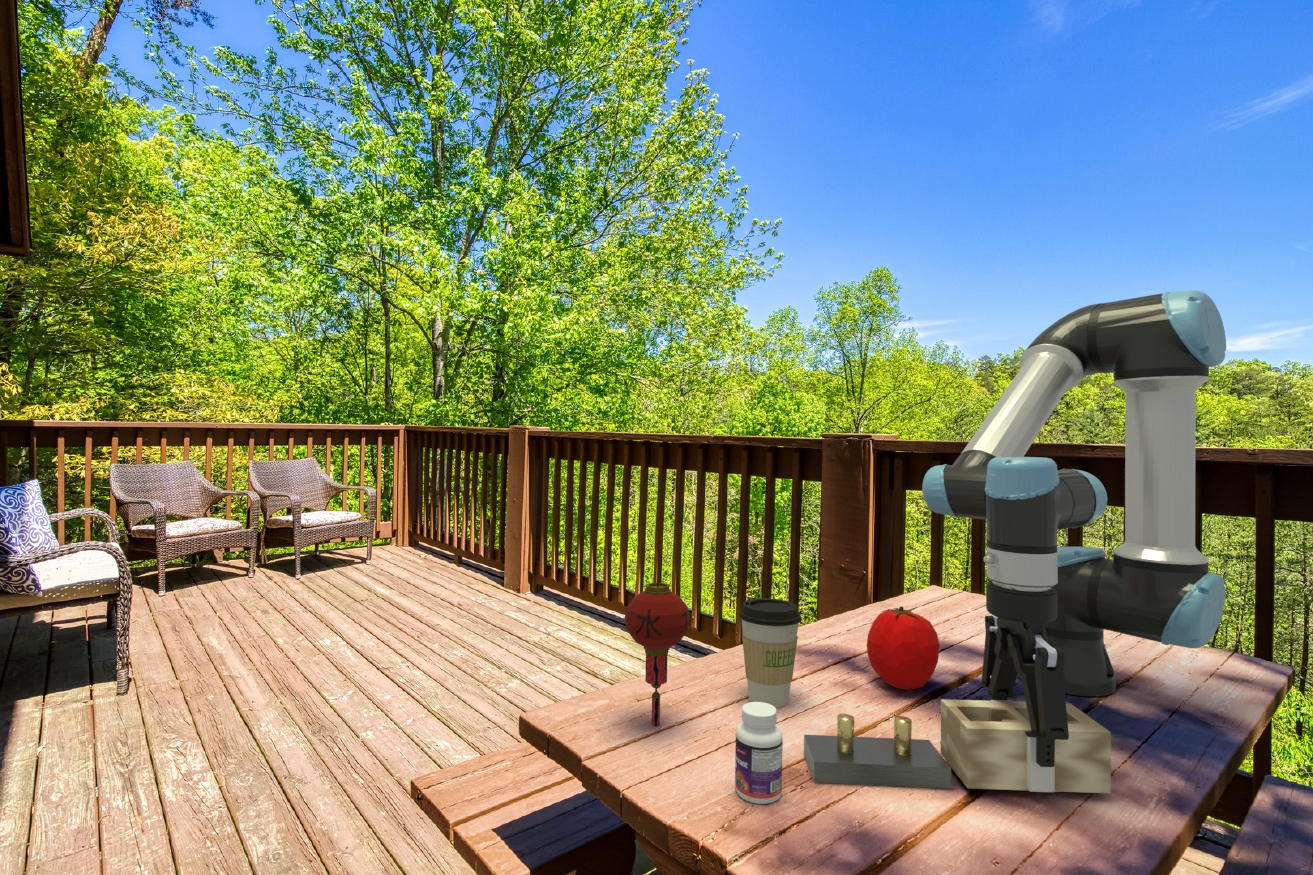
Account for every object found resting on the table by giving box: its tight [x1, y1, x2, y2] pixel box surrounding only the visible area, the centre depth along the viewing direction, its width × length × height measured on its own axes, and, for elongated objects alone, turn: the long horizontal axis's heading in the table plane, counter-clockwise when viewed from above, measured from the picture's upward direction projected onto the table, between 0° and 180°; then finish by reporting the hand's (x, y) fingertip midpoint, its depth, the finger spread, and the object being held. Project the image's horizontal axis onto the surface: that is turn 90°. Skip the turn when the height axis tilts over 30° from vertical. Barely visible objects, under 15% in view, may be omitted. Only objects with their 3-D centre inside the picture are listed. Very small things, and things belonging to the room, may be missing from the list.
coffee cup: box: [738, 597, 802, 709], centre depth 99 cm, size 10×10×15 cm
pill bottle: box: [734, 701, 784, 805], centre depth 73 cm, size 5×5×10 cm
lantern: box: [623, 514, 691, 727], centre depth 90 cm, size 10×10×30 cm
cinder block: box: [940, 699, 1112, 794], centre depth 77 cm, size 16×8×7 cm, turn 87°
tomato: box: [866, 606, 940, 691], centre depth 106 cm, size 12×12×13 cm
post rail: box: [803, 713, 952, 790], centre depth 78 cm, size 16×7×6 cm, turn 87°
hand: (1020, 769), depth 77 cm, fingers closed on cinder block, 8 cm apart
